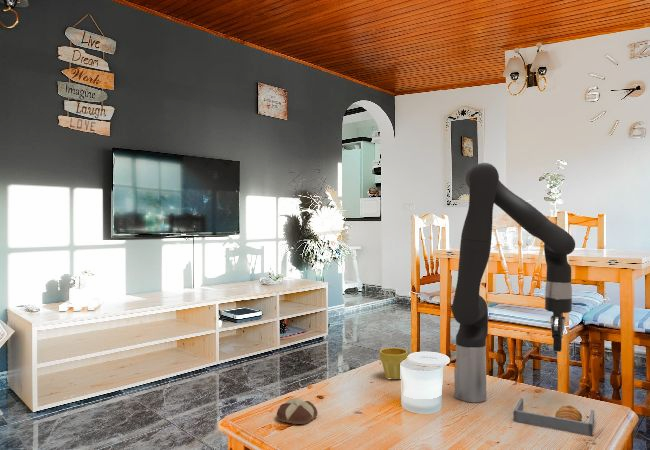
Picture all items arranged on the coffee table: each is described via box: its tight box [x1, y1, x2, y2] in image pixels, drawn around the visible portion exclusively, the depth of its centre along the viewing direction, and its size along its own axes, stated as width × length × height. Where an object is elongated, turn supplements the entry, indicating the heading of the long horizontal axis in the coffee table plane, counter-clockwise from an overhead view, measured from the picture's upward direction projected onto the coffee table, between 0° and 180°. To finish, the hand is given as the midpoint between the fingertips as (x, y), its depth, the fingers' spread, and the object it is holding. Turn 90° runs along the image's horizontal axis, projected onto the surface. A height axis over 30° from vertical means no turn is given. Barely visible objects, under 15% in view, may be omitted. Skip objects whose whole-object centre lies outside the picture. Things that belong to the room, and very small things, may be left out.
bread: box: [276, 397, 318, 425], centre depth 143 cm, size 11×11×5 cm
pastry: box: [554, 405, 583, 422], centre depth 136 cm, size 9×7×4 cm
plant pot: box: [379, 347, 409, 380], centre depth 178 cm, size 10×10×10 cm
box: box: [512, 398, 595, 437], centre depth 138 cm, size 20×11×3 cm, turn 58°
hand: (557, 350), depth 153 cm, fingers closed
